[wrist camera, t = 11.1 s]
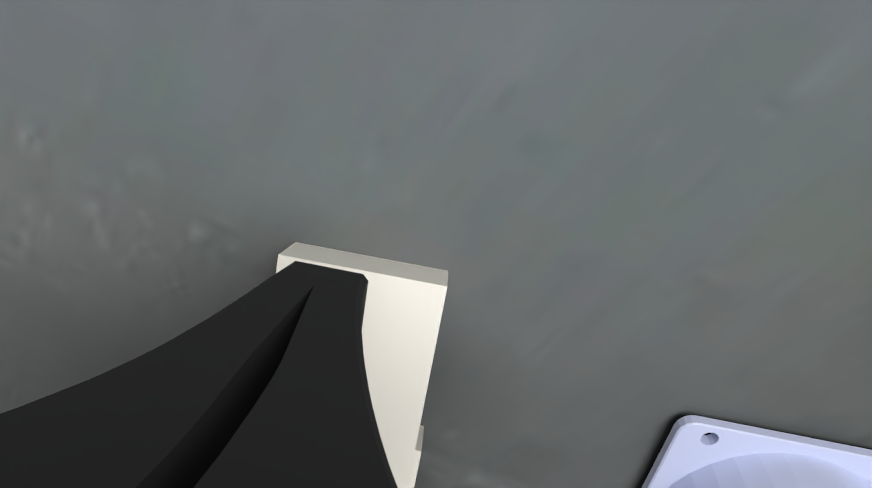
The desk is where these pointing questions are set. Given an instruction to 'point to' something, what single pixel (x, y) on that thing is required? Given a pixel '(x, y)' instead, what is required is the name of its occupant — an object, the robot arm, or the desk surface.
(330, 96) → the desk surface
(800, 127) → the desk surface
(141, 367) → the robot arm
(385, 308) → the domino
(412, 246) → the desk surface
